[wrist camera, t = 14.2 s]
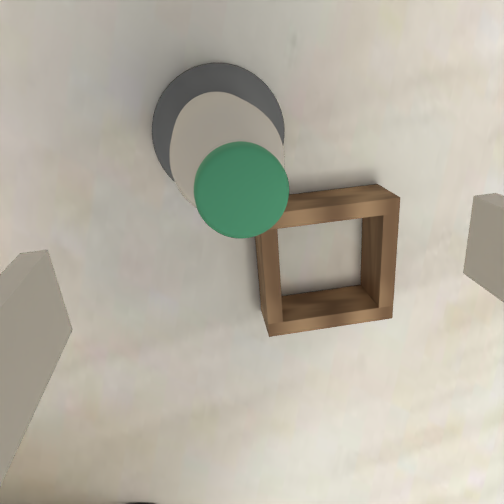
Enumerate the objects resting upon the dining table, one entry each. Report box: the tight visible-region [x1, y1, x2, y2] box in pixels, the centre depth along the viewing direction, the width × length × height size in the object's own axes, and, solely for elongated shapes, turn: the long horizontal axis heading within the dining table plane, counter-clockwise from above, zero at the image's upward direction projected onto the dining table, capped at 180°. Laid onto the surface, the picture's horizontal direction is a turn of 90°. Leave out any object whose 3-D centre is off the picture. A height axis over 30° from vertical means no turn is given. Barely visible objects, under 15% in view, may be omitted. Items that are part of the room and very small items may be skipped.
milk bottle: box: [170, 92, 289, 238], centre depth 28 cm, size 8×8×20 cm
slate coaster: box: [152, 63, 284, 182], centre depth 38 cm, size 12×12×1 cm
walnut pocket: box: [255, 184, 400, 337], centre depth 42 cm, size 13×13×5 cm
